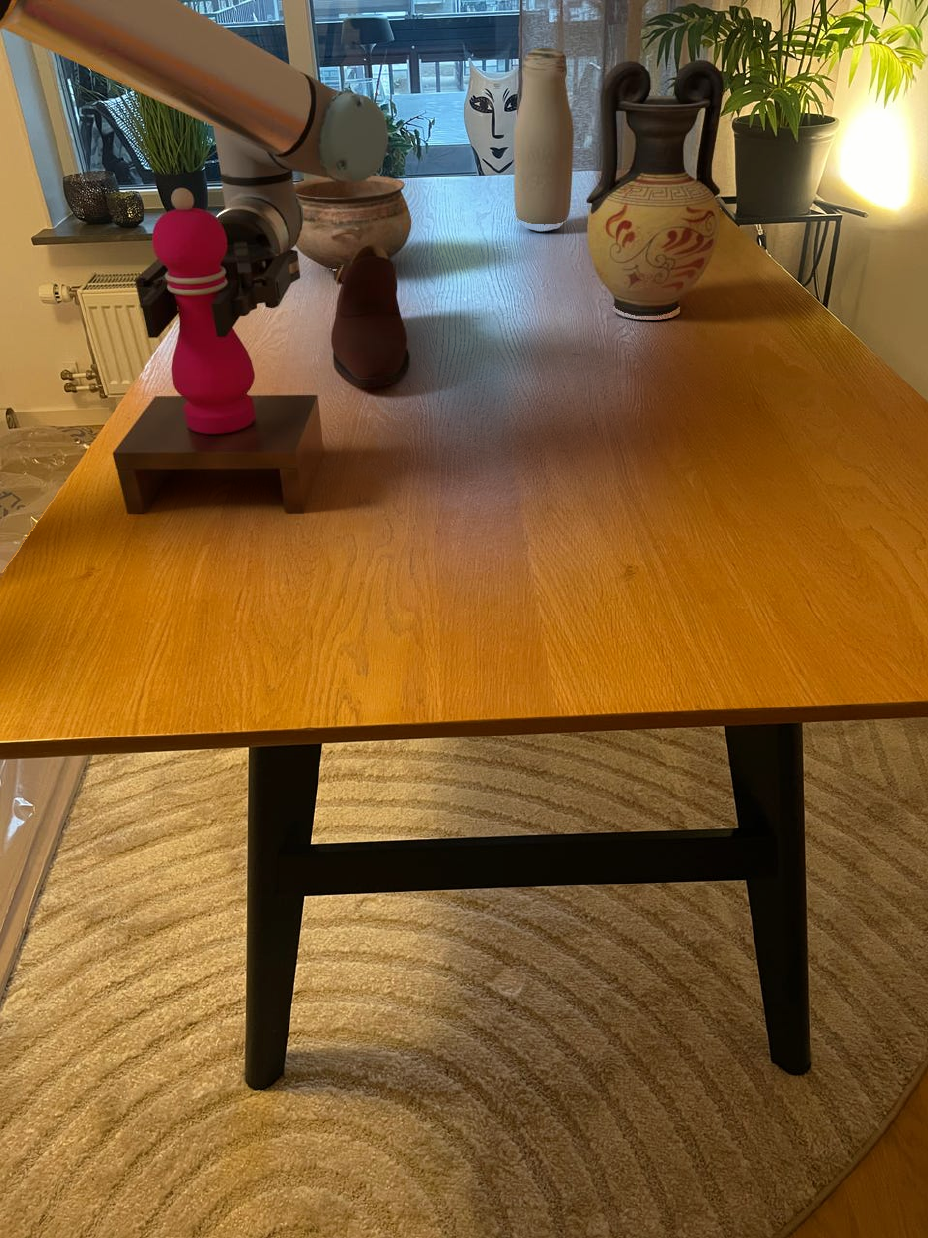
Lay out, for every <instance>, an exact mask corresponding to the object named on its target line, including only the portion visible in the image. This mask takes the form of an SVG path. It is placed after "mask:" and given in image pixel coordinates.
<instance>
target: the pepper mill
mask: <svg viewBox="0 0 928 1238" xmlns="http://www.w3.org/2000/svg"><path fill="white" fill-rule="evenodd" d="M170 198H171V199H170V201H171V204H172V206H173V207H174V209H171V210H169V211H166V212H165V213H164V214H162V215H161V216H160V217H159V218H158V219H157V221H156V222H155V224H154V226H153V230H152V235H151V236H152V237H151V241H152V242H151V243H152V249H153V252H154V254H155V256H156V258H157V259H159V260H160V262H161V263H163V264H164V265H165V266H166V267H167V268H168V270H169V271H168V272H166V274H165V278H166V279H167V280H168V285H167V288H168V290H169V291H170V292H172V293H174V296H175V299H176V303H177V307H178V318H179V319H178V320H179V327H178V328H179V329H178V335H177V340H176V343H175V346H174V347H175V348H174V351H173V355H172V360H171V378H172V379H171V381H172V385H173V387H174V390H176V392H177V393H178V394H179V396H182V397H184V398H185V399H186V400H187V402H186V403H185V405H184V413H185V418H186V423H187V426H188V427H189V428H190V429H191V430H193V431H195V432H198V433H202V434H225V433H231V432H235V431H238V430H241V429H243V428H246V427H247V426H249V425H250V424H252V423H253V421H254V420H255V417H256V415H255V408H254V402H253V399H252V397H251V396H249V395H250V394H248V392H249V391H250V389H251V388H252V387H253V385H254V382H255V378H256V373H255V369H254V366H253V365H254V364H253V362H252V361H253V360H252V358H251V357H250V354H249V352H248V350H247V349H246V346H245V345H244V344H243V342H242V341H241V339H240V337H239V336H238V335H237V332H236V331H235V329H234V328H233V327H232V329H231V330H230V332H229V333H228V335H227V336H226V337H217V335H216V329H215V323H214V317H213V311H212V305H211V304H212V302H213V301H214V300H215V299H216V297H217V296H218V295H219V293H220V292H221V291H222V290H223V288H224V287H225V286H226V285H227V284H228V282H227V280H226V277H225V274H226V270H225V268H224V267H222V266H220V264H221V262H222V260H223V258H224V257H225V254H226V251H227V238H226V234H225V231H224V229H223V227H222V225H221V223H220V222H219V221H218V219H217V218H216V217H217V216H215V215H214V214H212V213H211V212H210V211H208V210H206V209H203V208H199V207H194V205H195V199H194V195H193V193H192V192H191V191H190V190H189V189H187V188H184V187H178V188H176V189H174V190H173V192H172V194H171V197H170Z"/></svg>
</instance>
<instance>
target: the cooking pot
mask: <svg viewBox="0 0 928 1238" xmlns="http://www.w3.org/2000/svg"><path fill="white" fill-rule="evenodd" d="M293 184H294V192H295V193H296V195H297V196H298V198H299V200H300V202H301V205H302V208H303V225H302V230H301V232H300V236H299V238H298V241H297V243H296V244H295V246H294V247H296V248H297V251H299V252H300V253H301V254H302V255H303V256H305V257H306V258H307V259H309V260H311V261H313V262H315V263H317V264H318V265H320V266H322V267H323V268H326V267H327V268H326V269H328V268H331V269H338V268H341V267H342V265H345V267H349V264H350V262H351V261H352V259H353V258H354V256H355V255H356V254H357V252H358V251H359V250H360V249H361V248H363V247H364V246H367V245H371V244H375V245H379V246H381V247H382V248H384V250H385V251H386V252H387V254H388V255H389V257H390V259H392V258H393V257H394V256H395V255H397V254H398V253H399V252H400V251H401V250H402V249H403V248H404V247H405V245H406V244H407V241H408V240H409V236H410V233H411V230H412V216H411V213H410V210H409V207H408V203H407V201H406V198H405V196H404V194H403V192H402V190H403V189H404V188H405V186H406V183H405V182H404V181H402V180H400V179H398V178H394V177H390V176H384V175H375V174H374V175H372V176H371V177H370V178H368V179H366V180H363V181H360V182H350V181H342V182H336V181H334V180H332V179H330V178H325V177H321V176H319V177H315V178H309V179H305V180H301V181H298V182H295V183H293Z"/></svg>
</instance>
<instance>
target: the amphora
mask: <svg viewBox="0 0 928 1238" xmlns="http://www.w3.org/2000/svg"><path fill="white" fill-rule="evenodd" d="M724 86H725V85H724V78H723V74H722V73H721V71H720V69H719V68H718V67H717V66H716V65H715V64H714V63H712V62H711V61H708V60H705V59H696V60H692V61H689V62H688V63H686V64H684V65H683V66H682V67H681V68H680V70H678V73H677V74H676V76H675V78H674V85H673V91H674V95H669V94H668V95H650V93H651V90H652V80H651V74H650V72H649V70H648V69H647V68H646V67H645V66H644V65H643V64H642V63H639V62H638V61H632V60H627V61H623V62H620V63H618V64H615V65H614V66H613V67H612V68H611V69H610V70H609V71H608V73H607V74H606V76H605V78H604V79H603V82H602V85H601V93H600V117H601V118H600V119H601V140H602V141H601V142H602V156H601V157H602V158H601V159H602V160H601V161H602V162H601V164H602V165H601V173H600V179H599V181H598V184H597V185H596V186H595V187H594V189H593V190H592V191H591V192H590V194H589V195H588V197H587V198H586V204H591V206H590V209H589V211H588V216H587V224H586V225H587V227H586V231H587V233H586V234H587V235H586V236H587V245H588V246H587V247H588V252H589V255H590V258H591V261H592V264H593V268H594V269H595V271H596V274H597V276H598V278H599V280H600V281H601V282H602V284H603V285H604V286H605V287H606V289H607V290H608V291H609V292H610V293H611V295H612V297H613V300H614V301H613V304H614V306H615V308H616V309H618V310H620V311H622V312H624V313H628V314H631V315H635V316H658V315H659V316H660V315H663V314H667V313H670V312H672V311H674V310H676V309H677V308H678V307H679V306H680V305H679V302H680V301H679V300H680V299H681V297H682V296H683V295H684V294H685V293H687V291H689V290H690V289H691V288H693V287H694V285H695V284H696V283H697V282H698V281H699V280H700V278H701V277H702V275H703V274H704V273H705V271H706V270H707V267H708V265H709V264H710V262H711V259H712V257H713V255H714V252H715V250H716V247H717V242H718V239H719V234H720V221H721V220H720V219H721V217H720V216H721V214H720V213H721V212H720V207H719V203H718V200H717V198H716V197H717V196H718V195H720V194H721V189H720V187H718V185H717V184H716V182H715V181H714V180H713V162H714V161H713V160H714V155H715V150H716V143H717V137H718V132H719V126H720V125H719V124H720V119H721V112H722V106H723V99H724V90H725V87H724ZM703 109H704V113H703V114H704V115H703V121H702V126H701V131H700V132H701V133H700V139H699V144H698V145H699V146H698V151H697V160H696V171H695V178H694V177H692V176H691V175H690V174H689V173H688V172H687V171H686V167H685V161H684V160H685V159H684V157H685V156H684V154H685V153H684V148H685V147H684V146H685V141H686V137H687V135H689V133H690V132H691V130H692V129H693V128H694V126H695V124H696V122H697V119H698V115H699V113H700V111H701V110H703ZM617 112H624V113H625V121H626V124H627V127H628V128H629V129H630V130H631V131H632V132H633V135H634V141H635V143H634V144H635V146H634V154H633V159H632V164H631V166H630V168H629V170H628V171H627V172H626V173H625V174H623V175H621V176H620V177H618V178H617V174H618V173H617V171H618V154H619V153H618V151H619V150H618V122H617V120H618V119H617Z"/></svg>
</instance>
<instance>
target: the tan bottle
mask: <svg viewBox="0 0 928 1238" xmlns="http://www.w3.org/2000/svg"><path fill="white" fill-rule="evenodd" d="M567 75H568V66H567V56H566V55H565V54H564V52H562V51H561V50H558V49H556V48H552V47H537V48H533V49H531V50H530V51H529V52H527V54H526V55H525V56H524V59H523V63H522V67H521V79H522V89H521V90H522V91H521V97H520V103H519V106H518V110H517V115H516V120H515V125H514V131H513V162H514V163H513V165H514V167H513V168H514V188H513V189H514V191H513V192H514V196H513V197H514V210H515V216H516V218H518V219H519V220H521V221H524V222H527V223H531V224H544V225H545V224H557V223H562V222H564V221H565V220H566V221H567V220H568V217H569V216H570V211H571V203H572V187H573V169H574V168H573V166H574V147H575V146H574V145H575V129H574V120H573V115H572V110H571V107H570V102H569V97H568V89H567V82H566V78H567ZM518 219H517V220H518ZM519 220H518V221H519ZM566 221H565V222H566ZM565 222H564V223H565Z"/></svg>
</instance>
